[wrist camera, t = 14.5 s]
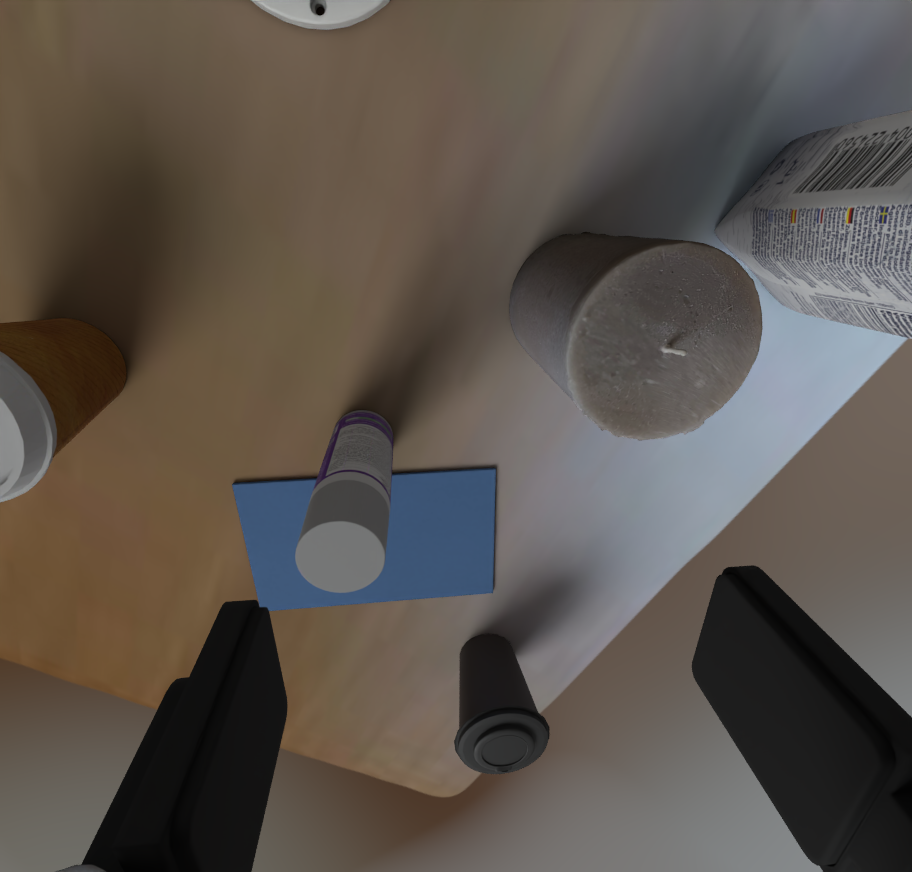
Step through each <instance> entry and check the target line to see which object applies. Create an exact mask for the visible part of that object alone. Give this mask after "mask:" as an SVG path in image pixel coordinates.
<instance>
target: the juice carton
mask: <svg viewBox="0 0 912 872" xmlns="http://www.w3.org/2000/svg"><path fill="white" fill-rule="evenodd" d="M715 234H716V236H717V237H718V238H719V240H720V241H721V242H722V243H723V244H724V245H725V246H726V247H727V248H728V249H729V250H730V251H731V252H732V253H733V254H734V255H735V256H736V257H738V258H739V259H740V260H741V261H742V262H743V263H744V264H745V265H746V266H747V267H748V268H749V269H750V270H751V271H752V272H753V273H754V274H755V275H756V277H757V278H758V279H759V280H760V282H761V283H762V284H763V285H764V286H765V288H766V289H767V290H768V291H769V292H770V293H771V294H772V295H773V296H774V297H775V298H776V299H777V300H778V301H779V302H780V303H781V304H782V305H784V306H786V307H788V308H790V309H792V310H794V311H796V312H799V313H802V314H806V315H810V316H814V317H819V318H823V319H827V320H832V321H836V322H840V323H845V324H849V325H854V326H858V327H862V328H867V329H871V330H876V331H880V332H885V333H889V334H893V335H898V336H902V337H907V338H911V339H912V110H910V111H905V112H901V113H896V114H892V115H887V116H883V117H878V118H874V119H869V120H865V121H860V122H856V123H852V124H847V125H843V126H838V127H834V128H830V129H825V130H821V131H817V132H814V133H810V134H807V135H805V136H802V137H800V138H797V139H795V140H793V141H792V142H790V143H789V144H788V145H787V146H786V147H785V148H784V149H783V150H782V151H781V152H780V153H779V154H778V156H777V157H776V158H775V159H774V160H773V162H772V163H771V164H770V165H769V166H768V168H767V169H766V170H765V171H764V173H763V174H762V175H761V176H760V178H759V179H758V180H757V181H756V183H755V184H754V185H753V186H752V187H751V189H750V190H749V191H748V192H747V193H746V194H745V195H744V196H743V197H742V199H741V200H740V201H739V202H738V203H737V204H736V205H735V206H734V207H733V208H732V209H731V210H730V212H729V213H728V214H727V215H726V216H725V217H724V218H723V220H722V221H721V222H720V223H719V225H718V226H717V227H716V229H715Z"/></svg>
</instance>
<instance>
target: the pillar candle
mask: <svg viewBox="0 0 912 872" xmlns="http://www.w3.org/2000/svg"><path fill="white" fill-rule="evenodd" d="M509 313H510V320H511V325H512V328H513V331H514V334H515V336H516V338H517V340H518V342H519V343H520V344H521V346H522V347H523V348H524V349H525V351H526V352H527V353H528V354H529V355H530V356H531V357H532V359H533V360H534V361H535V362H536V363H537V364H538V365H539V366H540V367H541V368H542V369H543V370H544V371H545V372H546V373H547V374H548V375H549V377H550V378H551V379H552V380H553V381H554V382H555V383H556V384H557V385H558V386H559V387H560V388H561V389H562V390H563V391H564V392H565V393H566V394H567V395H568V396H569V397H570V398H571V399H572V400H573V401H574V403H575V405H576V407H578V409H581V410H582V412H583V415H586V416H587V417H588V418H589V419H590V420H592V421H593V422H594V423H595V424H596V425H597V426H598V427H599V428H600V429H601V430H602V431H603V430H608V431H609V432H611V433H612V434H613V435H615V436H618V437H626V438H633V439H638V440H648V439H659V438H666V437H669V436H673V435H676V434H679V433H684V434H686V433H688V432H692V431H694V430H695V429H697V428H699V427H700V426H701V425H702V424H703V423H704V420H706V419H707V418H709V417H710V416H712V415H713V414H714V413H715V412H716V411H718V410H719V409H721V408H722V407H723V405H724V404H725V403H727V402H728V401H729V400H730V398H731V397H732V396H733V395H734V394H735V392H736V391H737V390H738V389H739V388H740V386H741V385H742V383H743V382H744V380H745V378H746V377H747V375H748V373H749V371H750V369H751V367H752V365H753V364H754V362H755V359H756V357H757V355H758V352H759V346H760V341H761V335H762V313H761V306H760V301H759V295H758V292H757V290H756V288H755V284H754V281H753V279H751V278H750V276H749V275H748V273H747V272H746V271H745V270H744V269H743V268H742V266H741V265H740V264H739V263H738V262H737V261H736V260H735V259H734V258H732V257H731V256H730V255H728V254H726V253H725V252H723V251H721V250H719V249H717V248H715V247H713V246H710V245H707V244H704V243H699V242H693V241H683V240H669V239H660V238H640V237H633V236H610V235H606V234H593V233H589V232H583V233H581V234H574V235H573V234H568V235H567V234H565V235H561V236H559V237H557V238H555V239H552V240H550V241H549V242H547V243H545V244H544V245H542V246H541V247H539V248H538V249H537V250H536V251H535V252H534V253H533V254H532V255H531V256H530V257H529V258H528V259H527V260H526V262H525V263H524V264H523V266H522V267H521V269H520V271H519V272H518V274H517V276H516V279H515V281H514V283H513V287H512V291H511V295H510V305H509Z"/></svg>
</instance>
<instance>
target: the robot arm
mask: <svg viewBox="0 0 912 872" xmlns="http://www.w3.org/2000/svg"><path fill="white" fill-rule="evenodd" d="M251 1H252V2H254V3H255V4H256V5H257V6H259V7H260V8H261V9H262V10H264V11H266V12H268V13H270V14H271V15H273V16H275V17H277V18H279V19H281V20H282V21H284V22H288V23H291V24H294V25H297V26H301V27H304V28H309V29H322V30H331V29H337V28H343V27H349V26H351V25H354V24H356V23H358V22H361V21H363V20H366V19H368V18H370V17H371V16H372V15H374V14H375V13H376V12H378V11H379V10H380V9H382V8H383V7H384V6H386V5H387V4H388V3H389V1H390V0H251ZM318 7H323V8H324V9H325V13H324V14H323V15H321V16H319V15H317V13H316V9H317V8H318ZM692 672H693V675H694V678H695V680H696V682H697V684H698V685H699V687H700V689H701V690H702V692H703V693H704V695H705V697H706V698H707V700H708V701H709V703H710V705H711V706H712V708H713V709H714V711H715V712H716V714H717V715H718V717H719V719H720V720H721V722H722V724H723V725H724V727H725V728H726V729H727V731H728V733H729V735H730V736H731V738H732V739H733V741H734V743H735V744H736V746H737V747H738V749H739V751H740V752H741V754H742V755H743V757H744V758H745V760H746V762H747V763H748V765H749V766H750V768H751V769H752V771H753V773H754V774H755V776H756V777H757V779H758V781H759V782H760V784H761V785H762V787H763V789H764V790H765V792H766V793H767V795H768V796H769V798H770V799H771V801H772V803H773V804H774V806H775V808H776V809H777V811H778V812H779V814H780V815H781V817H782V819H783V820H784V822H785V823H786V825H787V826H788V828H789V830H790V831H791V833H792V835H793V836H794V837H795V839H796V841H797V842H798V844H799V846H800V847H801V849H802V850H803V852H804V853H805V855H806V856H807V857H808V859H810V861H811V862H812V863H814V864H816V865H819V866H820V867H821V869H822V870H823V872H912V717H911V716H910V715H909V714H907V712H906V711H905V710H904V709H903V708H901V706H899V705H898V703H897V702H895V701H894V700H893V699H892V698H891V697H890V696H889V695H888V694H887V693H886V692H885V691H884V690H883V689H882V688H881V687H880V686H879V685H878V684H877V683H876V682H875V681H874V680H873V679H872V678H871V677H870V676H869V675H868V674H867V673H866V672H865V671H864V670H863V669H862V668H861V667H860V666H859V665H858V664H857V663H856V662H855V661H854V660H853V659H852V658H851V657H850V656H849V655H848V654H847V653H846V652H845V651H844V650H843V649H842V648H841V647H840V646H839V645H838V644H837V643H836V642H835V641H834V640H833V639H832V638H831V637H830V636H828V635H827V634H826V632H825V631H823V630H822V629H821V628H820V627H819V626H818V625H817V624H816V623H815V622H814V621H813V620H812V619H811V618H810V617H809V616H808V615H807V614H806V613H805V612H804V611H803V610H802V609H801V608H800V607H799V606H798V605H797V604H796V603H795V602H794V601H793V600H792V599H791V598H790V597H789V596H788V595H787V594H786V593H785V592H784V591H783V590H782V589H781V588H780V587H779V586H778V585H777V584H776V583H775V582H774V581H773V580H772V579H771V578H770V577H769V576H768V575H767V574H766V573H765V572H764V571H763V570H761V569H760V568H759V567H756V566H739V567H728V568H726V569H724V571H723V573H722V575H719V576H718V577H717V579H716V582H715V585H714V588H713V592H712V595H711V599H710V602H709V606H708V609H707V613H706V616H705V620H704V623H703V627H702V630H701V633H700V637H699V641H698V644H697V647H696V651H695V655H694V658H693V661H692ZM286 717H287V696H286V692H285V687H284V682H283V677H282V672H281V667H280V663H279V658H278V653H277V648H276V643H275V638H274V634H273V629H272V624H271V619H270V614H269V610H268V608H267V607H259V603H258V602H257V600H246V601H232V602H225V603H224V604H223V605H222V607H221V609H220V611H219V613H218V615H217V618H216V620H215V622H214V624H213V626H212V629H211V631H210V633H209V635H208V637H207V640H206V642H205V644H204V646H203V648H202V650H201V653H200V655H199V657H198V659H197V661H196V664H195V666H194V668H193V670H192V672H191V674H190V677H188V678H179V679H176V680H175V681H174V682H173V683H172V684H171V685H170V687H169V689H168V690H167V692H166V694H165V696H164V698H163V700H162V702H161V704H160V706H159V708H158V710H157V712H156V714H155V716H154V718H153V720H152V722H151V724H150V726H149V728H148V730H147V732H146V734H145V736H144V738H143V741H142V742H141V744H140V747H139V748H138V750H137V753H136V755H135V757H134V759H133V761H132V763H131V765H130V767H129V769H128V771H127V773H126V775H125V777H124V779H123V781H122V783H121V785H120V787H119V789H118V791H117V794H116V795H115V797H114V799H113V802H112V803H111V805H110V807H109V810H108V812H107V814H106V816H105V818H104V820H103V822H102V824H101V826H100V828H99V830H98V832H97V834H96V836H95V838H94V840H93V842H92V844H91V846H90V848H89V850H88V852H87V854H86V856H85V858H84V860H83V862H82V864H81V865H74V866H71V867H68V868H65V869H62V870H59V871H56V872H251V871H252V866H253V862H254V858H255V853H256V849H257V845H258V840H259V835H260V831H261V827H262V823H263V818H264V814H265V809H266V805H267V801H268V796H269V792H270V788H271V783H272V779H273V774H274V770H275V765H276V761H277V757H278V752H279V748H280V744H281V739H282V735H283V731H284V726H285V722H286Z"/></svg>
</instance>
